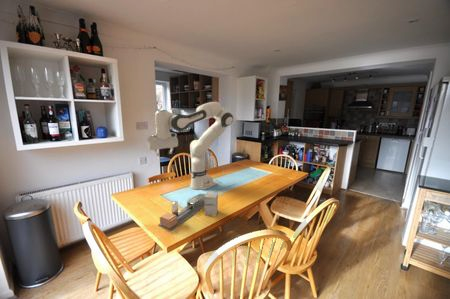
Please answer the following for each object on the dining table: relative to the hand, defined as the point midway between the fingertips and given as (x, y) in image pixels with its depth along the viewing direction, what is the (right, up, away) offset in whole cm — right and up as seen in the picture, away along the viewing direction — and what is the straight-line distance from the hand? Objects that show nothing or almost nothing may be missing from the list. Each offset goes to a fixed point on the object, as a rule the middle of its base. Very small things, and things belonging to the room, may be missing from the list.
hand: (164, 154), depth 135 cm
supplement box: (+33, -37, -9) cm, 50 cm away
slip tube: (+15, -36, -14) cm, 41 cm away
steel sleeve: (+23, -35, -1) cm, 41 cm away
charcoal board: (+17, -37, -9) cm, 42 cm away
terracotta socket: (+10, -39, -22) cm, 46 cm away
